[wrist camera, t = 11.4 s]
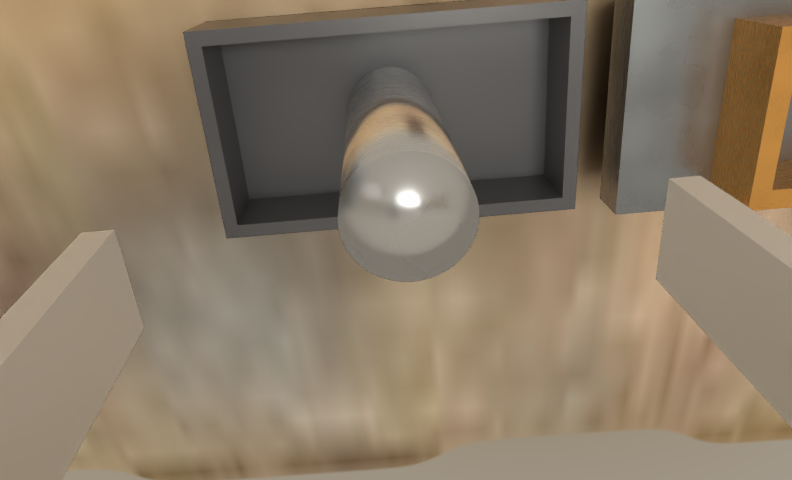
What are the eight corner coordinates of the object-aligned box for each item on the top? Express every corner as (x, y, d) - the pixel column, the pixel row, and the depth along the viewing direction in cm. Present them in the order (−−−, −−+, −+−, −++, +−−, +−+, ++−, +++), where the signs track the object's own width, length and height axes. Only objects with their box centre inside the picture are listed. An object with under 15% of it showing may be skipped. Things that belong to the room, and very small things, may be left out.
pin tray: (242, 205, 32) (226, 238, 28) (206, 21, 28) (183, 32, 24) (550, 179, 32) (575, 208, 28) (558, -8, 28) (587, -1, 24)
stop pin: (352, 154, 30) (345, 287, 18) (343, 70, 28) (329, 158, 16) (434, 147, 30) (480, 275, 18) (430, 63, 28) (478, 145, 16)
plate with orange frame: (579, 176, 32) (643, 243, 24) (591, -10, 28) (669, 3, 21) (865, 152, 32) (1012, 211, 25) (916, -37, 28) (1107, -32, 21)
